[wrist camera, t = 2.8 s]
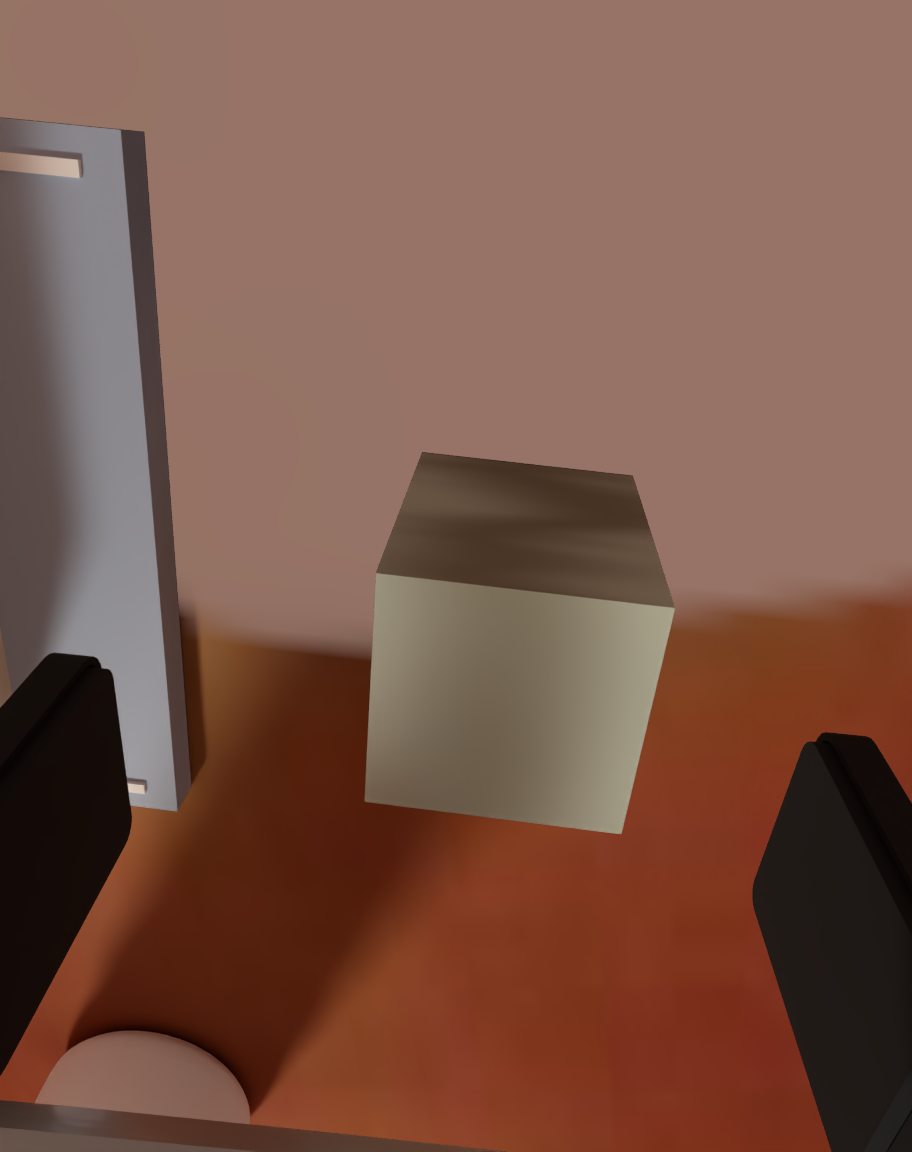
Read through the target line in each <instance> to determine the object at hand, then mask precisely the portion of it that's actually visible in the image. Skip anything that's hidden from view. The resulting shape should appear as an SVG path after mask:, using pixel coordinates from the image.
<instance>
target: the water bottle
mask: <svg viewBox="0 0 912 1152" xmlns="http://www.w3.org/2000/svg"><path fill="white" fill-rule="evenodd" d="M35 1103H38V1104H50V1105H62V1106H75V1107H85V1108H94V1109H104V1110H114V1111H124V1112H134V1113H144V1114H153V1115H163V1116H173V1117H183V1118H193V1119H203V1120H213V1121H222V1122H232V1123H242V1124H249V1122H250V1111H249V1105H248V1101H247V1098H246V1096H245V1093H244V1091H243V1089H242V1087H241V1086H240V1084H239V1082H238V1081H237V1079H236V1078H235V1077H234V1075H233V1074H232V1073H231V1072H230V1071H229V1070H228V1068H227V1067H226V1066H225V1065H223V1064H222V1063H221V1062H220V1061H219V1060H218V1059H216V1058H215V1057H214V1056H212V1055H211V1054H209V1053H208V1052H206V1051H204V1050H203V1049H201V1048H199V1047H197V1046H195V1045H193V1044H191V1043H189V1042H186V1041H184V1040H181V1039H178V1038H175V1037H172V1036H169V1035H165V1034H160V1033H155V1032H148V1031H117V1032H110V1033H105V1034H101V1035H98V1036H95V1037H92V1038H89V1039H87V1040H85V1041H83V1042H81V1043H79V1044H77V1045H76V1046H74V1047H72V1048H71V1049H70V1050H68V1051H67V1052H66V1053H65V1054H64V1055H63V1056H62V1057H61V1058H60V1059H59V1061H58V1062H57V1063H56V1065H55V1066H54V1068H53V1070H52V1071H51V1073H50V1075H49V1077H48V1078H47V1080H46V1082H45V1084H44V1086H43V1088H42V1090H41V1091H40V1093H39V1095H38V1097H37V1099H36V1101H35Z"/></svg>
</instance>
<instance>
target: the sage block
mask: <svg viewBox="0 0 912 1152" xmlns="http://www.w3.org/2000/svg"><path fill="white" fill-rule="evenodd" d="M674 610H675V606H674V603H673V600H672V597H671V594H670V591H669V588H668V585H667V581H666V578H665V575H664V572H663V569H662V566H661V563H660V560H659V556H658V553H657V550H656V547H655V544H654V541H653V538H652V534H651V532H650V528H649V525H648V522H647V519H646V516H645V513H644V509H643V506H642V504H641V500H640V497H639V494H638V491H637V488H636V485H635V482H634V478H633V476H632V475H623V474H614V473H605V472H596V471H588V470H579V469H570V468H561V467H552V466H543V465H534V464H524V463H516V462H507V461H498V460H489V459H480V458H471V457H462V456H453V455H444V454H435V453H426V452H422V454H421V457H420V459H419V462H418V465H417V467H416V470H415V472H414V475H413V478H412V480H411V483H410V485H409V489H408V491H407V493H406V496H405V498H404V501H403V504H402V507H401V509H400V512H399V514H398V517H397V520H396V522H395V525H394V527H393V530H392V533H391V535H390V538H389V540H388V543H387V546H386V548H385V551H384V553H383V556H382V559H381V561H380V564H379V567H378V569H377V572H376V581H375V602H374V621H373V641H372V661H371V681H370V701H369V721H368V741H367V761H366V781H365V801H364V802H371V803H379V804H386V805H394V806H402V807H410V808H418V809H426V810H434V811H442V812H450V813H457V814H465V815H473V816H481V817H489V818H497V819H505V820H513V821H521V822H528V823H536V824H544V825H552V826H560V827H568V828H576V829H584V830H592V831H600V832H607V833H615V834H621V833H622V829H623V825H624V820H625V816H626V812H627V808H628V804H629V799H630V795H631V791H632V787H633V783H634V778H635V774H636V770H637V766H638V762H639V757H640V753H641V749H642V745H643V741H644V736H645V732H646V728H647V724H648V720H649V715H650V711H651V707H652V703H653V699H654V694H655V690H656V686H657V682H658V678H659V673H660V669H661V665H662V661H663V657H664V652H665V648H666V644H667V640H668V636H669V631H670V627H671V623H672V619H673V615H674Z"/></svg>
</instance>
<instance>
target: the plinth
mask: <svg viewBox="0 0 912 1152" xmlns="http://www.w3.org/2000/svg"><path fill="white" fill-rule="evenodd" d="M11 695H12V689H11V684H10V679H9V673H8V668H7V663H6V657H5V652H4V647H3V641H2V636H1V630H0V707H1V706H2V705H3V704H4V703H5V702H6V701H7V699H8V698H9V697H10V696H11Z"/></svg>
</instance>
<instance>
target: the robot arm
mask: <svg viewBox="0 0 912 1152" xmlns="http://www.w3.org/2000/svg"><path fill="white" fill-rule="evenodd" d="M131 822H132V814H131V806H130V799H129V791H128V784H127V776H126V769H125V761H124V753H123V746H122V738H121V731H120V723H119V716H118V708H117V701H116V693H115V685H114V678H113V674H112V672H111V671H110V670H109V669H105V668H102V667H101V663H100V662H99V660H98V658H96V657H94V656H84V655H74V654H65V653H55V652H54V653H50V654H48V655H47V656H46V657H45V658H44V659H43V660H42V661H41V662H40V663H39V664H38V666H37V667H36V668H35V669H34V670H33V671H32V672H31V673H30V675H29V676H28V677H27V678H26V679H25V680H24V681H23V682H22V684H21V685H20V686H19V687H18V688H17V689H16V690H15V692H14V693H13V694H12V695H11V696H10V697H9V698H8V699H7V701H6V702H5V703H4V704H3V705H2V706H1V707H0V1075H1V1074H2V1072H3V1071H4V1069H5V1068H6V1066H7V1064H8V1062H9V1060H10V1058H11V1057H12V1055H13V1053H14V1051H15V1049H16V1047H17V1045H18V1044H19V1042H20V1040H21V1038H22V1036H23V1034H24V1032H25V1031H26V1029H27V1027H28V1025H29V1023H30V1021H31V1019H32V1017H33V1016H34V1014H35V1012H36V1010H37V1008H38V1006H39V1004H40V1003H41V1001H42V999H43V997H44V995H45V993H46V991H47V990H48V988H49V986H50V984H51V982H52V980H53V978H54V977H55V975H56V973H57V971H58V969H59V967H60V965H61V964H62V962H63V960H64V958H65V956H66V954H67V952H68V951H69V949H70V947H71V945H72V943H73V941H74V939H75V938H76V936H77V934H78V932H79V930H80V928H81V926H82V924H83V923H84V921H85V919H86V917H87V915H88V913H89V911H90V910H91V908H92V906H93V904H94V902H95V900H96V898H97V897H98V895H99V893H100V891H101V889H102V887H103V885H104V884H105V882H106V880H107V878H108V876H109V874H110V872H111V871H112V869H113V867H114V865H115V863H116V861H117V859H118V858H119V856H120V854H121V852H122V850H123V848H124V846H125V844H126V842H127V840H128V837H129V834H130V829H131ZM753 906H754V910H755V913H756V917H757V920H758V923H759V926H760V929H761V932H762V935H763V938H764V942H765V945H766V948H767V951H768V954H769V957H770V960H771V964H772V967H773V970H774V973H775V976H776V979H777V982H778V985H779V989H780V992H781V995H782V998H783V1001H784V1004H785V1007H786V1010H787V1014H788V1017H789V1020H790V1023H791V1026H792V1029H793V1032H794V1035H795V1039H796V1042H797V1045H798V1048H799V1051H800V1054H801V1057H802V1060H803V1064H804V1067H805V1070H806V1073H807V1076H808V1079H809V1082H810V1086H811V1089H812V1092H813V1095H814V1098H815V1101H816V1104H817V1107H818V1111H819V1114H820V1117H821V1120H822V1123H823V1126H824V1129H825V1132H826V1136H827V1139H828V1142H829V1145H830V1148H831V1151H832V1152H912V803H911V801H910V800H909V798H908V797H907V795H906V793H905V792H904V790H903V788H902V787H901V785H900V783H899V782H898V780H897V778H896V777H895V775H894V773H893V772H892V770H891V768H890V767H889V765H888V764H887V762H886V760H885V759H884V757H883V755H882V754H881V752H880V750H879V749H878V747H877V745H876V744H875V743H874V741H873V740H872V739H871V738H869V737H866V736H857V735H847V734H838V733H828V732H826V733H822V734H821V735H820V736H819V737H818V739H817V741H816V742H807V743H806V744H805V745H804V747H803V749H802V751H801V754H800V757H799V759H798V762H797V765H796V767H795V770H794V773H793V776H792V778H791V781H790V784H789V787H788V789H787V792H786V795H785V798H784V800H783V803H782V806H781V809H780V811H779V814H778V817H777V820H776V822H775V825H774V828H773V831H772V833H771V836H770V839H769V841H768V844H767V847H766V850H765V852H764V855H763V858H762V861H761V863H760V866H759V869H758V872H757V874H756V877H755V880H754V884H753ZM0 1152H506V1151H497V1150H488V1149H479V1148H469V1147H460V1146H451V1145H442V1144H432V1143H423V1142H414V1141H404V1140H395V1139H385V1138H376V1137H367V1136H357V1135H348V1134H338V1133H329V1132H320V1131H310V1130H301V1129H291V1128H282V1127H272V1126H262V1125H252V1124H242V1123H232V1122H222V1121H213V1120H203V1119H193V1118H183V1117H173V1116H163V1115H153V1114H144V1113H134V1112H124V1111H114V1110H104V1109H94V1108H85V1107H75V1106H62V1105H50V1104H38V1103H26V1102H14V1101H2V1100H0Z"/></svg>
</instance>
